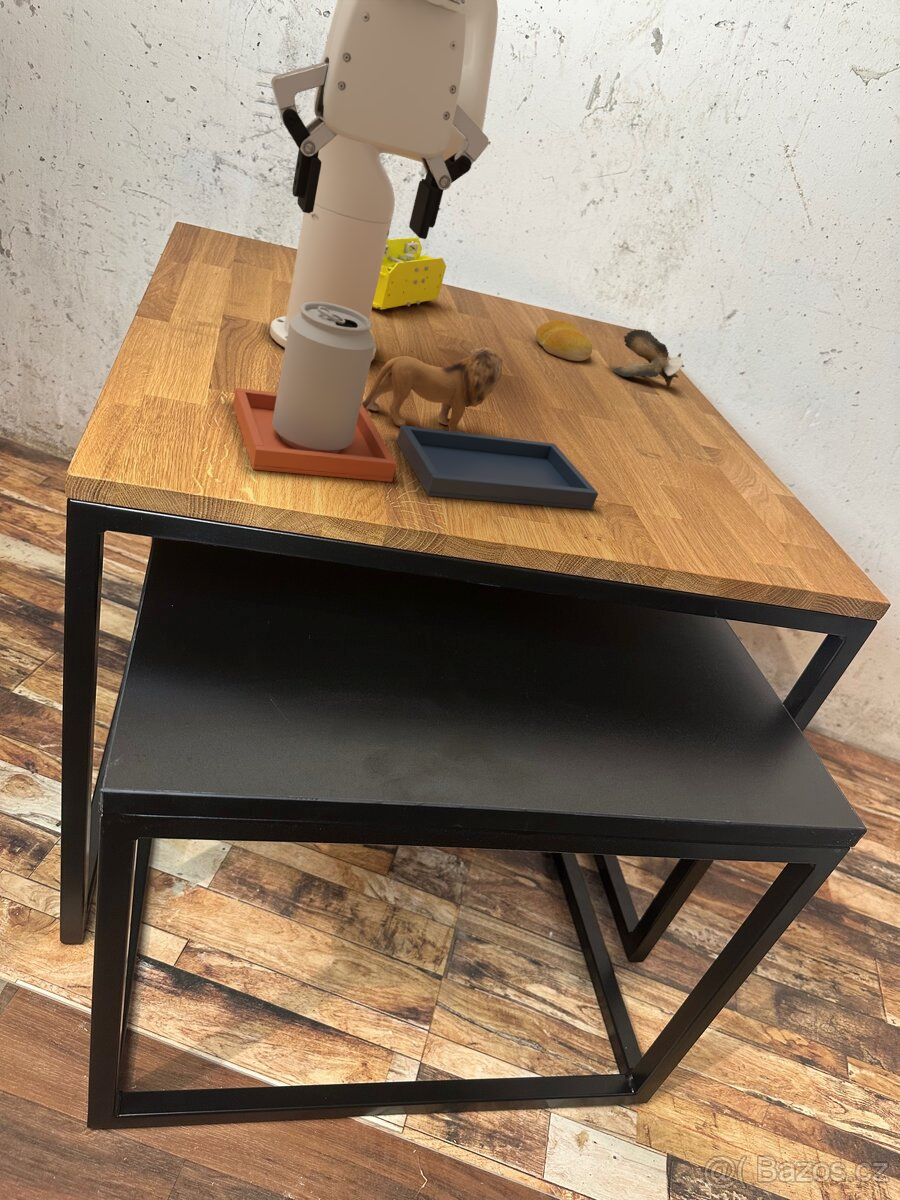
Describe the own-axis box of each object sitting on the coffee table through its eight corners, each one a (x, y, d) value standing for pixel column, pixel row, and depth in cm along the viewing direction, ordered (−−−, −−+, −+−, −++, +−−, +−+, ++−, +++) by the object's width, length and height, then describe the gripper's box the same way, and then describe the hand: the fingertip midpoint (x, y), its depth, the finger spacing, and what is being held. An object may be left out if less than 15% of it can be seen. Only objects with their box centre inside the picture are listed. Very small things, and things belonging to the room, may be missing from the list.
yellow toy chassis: (407, 291, 134) (420, 235, 130) (437, 304, 133) (452, 249, 128) (348, 300, 122) (361, 239, 117) (381, 315, 120) (396, 254, 116)
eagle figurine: (666, 368, 134) (616, 342, 132) (694, 341, 128) (642, 313, 126) (658, 406, 131) (607, 380, 129) (686, 380, 124) (633, 352, 122)
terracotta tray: (232, 405, 83) (235, 387, 82) (358, 421, 88) (362, 403, 87) (252, 469, 73) (256, 449, 72) (392, 482, 79) (397, 463, 78)
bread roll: (551, 359, 125) (561, 332, 123) (526, 336, 132) (535, 310, 130) (599, 366, 129) (608, 340, 127) (572, 344, 135) (581, 319, 133)
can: (337, 467, 77) (366, 337, 71) (258, 440, 77) (280, 307, 71) (360, 439, 83) (389, 317, 77) (287, 413, 84) (310, 290, 77)
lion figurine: (473, 419, 97) (497, 342, 92) (490, 441, 93) (516, 362, 88) (347, 404, 91) (366, 320, 86) (361, 427, 87) (381, 340, 82)
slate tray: (396, 442, 86) (400, 424, 85) (548, 459, 94) (554, 443, 93) (428, 495, 78) (433, 477, 77) (591, 509, 86) (598, 493, 85)
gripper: (503, 6, 68) (445, 231, 77) (284, -71, 61) (249, 186, 70) (540, 15, 62) (472, 256, 72) (303, -68, 55) (262, 211, 65)
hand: (362, 221), depth 71 cm, fingers open, 9 cm apart
